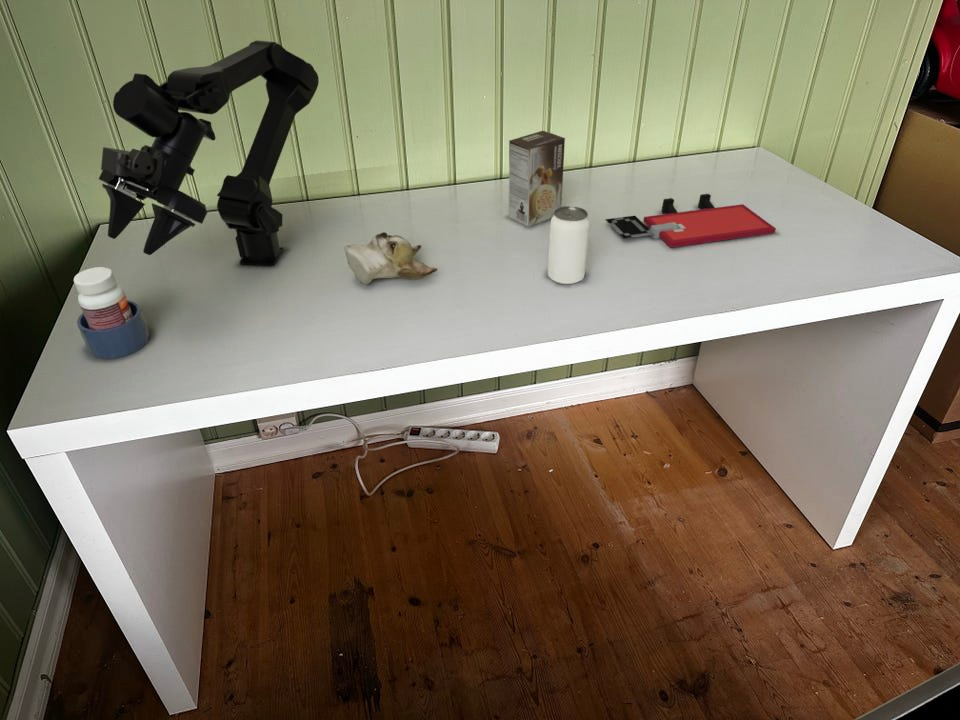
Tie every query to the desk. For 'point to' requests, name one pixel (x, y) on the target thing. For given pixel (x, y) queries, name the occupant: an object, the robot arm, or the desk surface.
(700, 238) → the red board with handle
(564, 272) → the can
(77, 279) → the pill bottle
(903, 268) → the desk surface
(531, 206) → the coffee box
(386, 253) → the ceramic sculpture
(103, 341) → the cup
